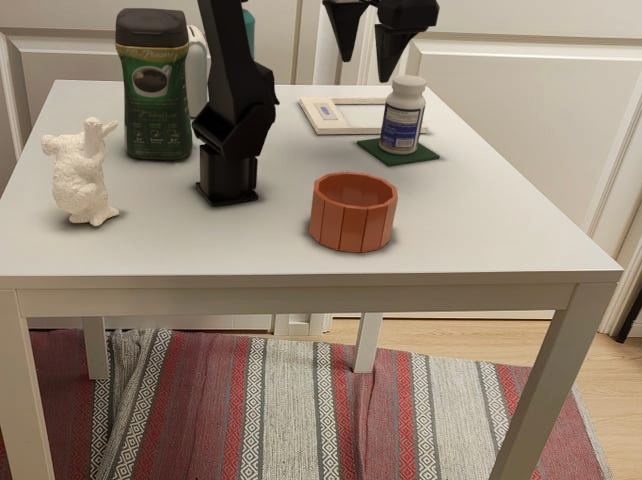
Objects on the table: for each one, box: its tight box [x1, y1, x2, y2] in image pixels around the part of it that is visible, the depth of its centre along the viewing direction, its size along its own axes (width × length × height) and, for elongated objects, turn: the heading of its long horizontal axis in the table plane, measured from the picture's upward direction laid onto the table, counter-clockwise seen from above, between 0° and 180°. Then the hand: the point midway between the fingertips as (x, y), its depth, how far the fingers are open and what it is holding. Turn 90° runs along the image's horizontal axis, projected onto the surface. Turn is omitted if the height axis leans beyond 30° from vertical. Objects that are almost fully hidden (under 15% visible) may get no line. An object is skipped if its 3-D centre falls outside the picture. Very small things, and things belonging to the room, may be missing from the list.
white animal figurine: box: [40, 116, 120, 227], centre depth 75 cm, size 8×7×12 cm
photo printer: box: [185, 24, 209, 118], centre depth 106 cm, size 10×4×12 cm, turn 13°
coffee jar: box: [114, 7, 194, 160], centre depth 89 cm, size 10×8×19 cm
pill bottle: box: [379, 74, 427, 155], centre depth 95 cm, size 6×6×10 cm
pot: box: [308, 171, 399, 254], centre depth 77 cm, size 10×10×6 cm
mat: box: [356, 137, 441, 167], centre depth 99 cm, size 9×9×1 cm
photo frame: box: [298, 96, 429, 135], centre depth 109 cm, size 15×1×18 cm
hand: (364, 71), depth 85 cm, fingers open, 9 cm apart
